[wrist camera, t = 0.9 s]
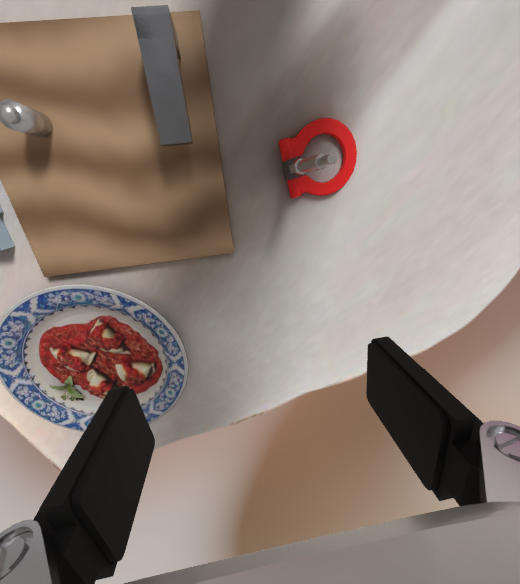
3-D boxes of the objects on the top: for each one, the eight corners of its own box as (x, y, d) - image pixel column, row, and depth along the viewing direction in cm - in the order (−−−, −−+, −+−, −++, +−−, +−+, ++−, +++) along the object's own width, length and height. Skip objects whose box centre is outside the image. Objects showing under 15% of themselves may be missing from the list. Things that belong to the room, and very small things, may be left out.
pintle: (22, 111, 26) (-17, 97, 22) (47, 109, 26) (12, 95, 22) (32, 138, 27) (-3, 130, 23) (56, 136, 27) (25, 127, 23)
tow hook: (347, 111, 31) (274, 133, 31) (429, 63, 19) (312, 99, 19) (356, 184, 34) (290, 205, 34) (431, 182, 23) (331, 214, 22)
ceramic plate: (128, 248, 34) (119, 253, 31) (217, 385, 44) (216, 399, 41) (-42, 326, 35) (-65, 338, 32) (83, 442, 45) (73, 459, 42)
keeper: (145, 34, 25) (130, 7, 21) (176, 32, 25) (167, 5, 22) (169, 150, 29) (160, 145, 25) (196, 147, 29) (192, 142, 25)
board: (-57, 33, 24) (-68, 27, 23) (200, 17, 26) (199, 10, 25) (49, 274, 34) (44, 277, 33) (233, 251, 35) (233, 252, 34)
